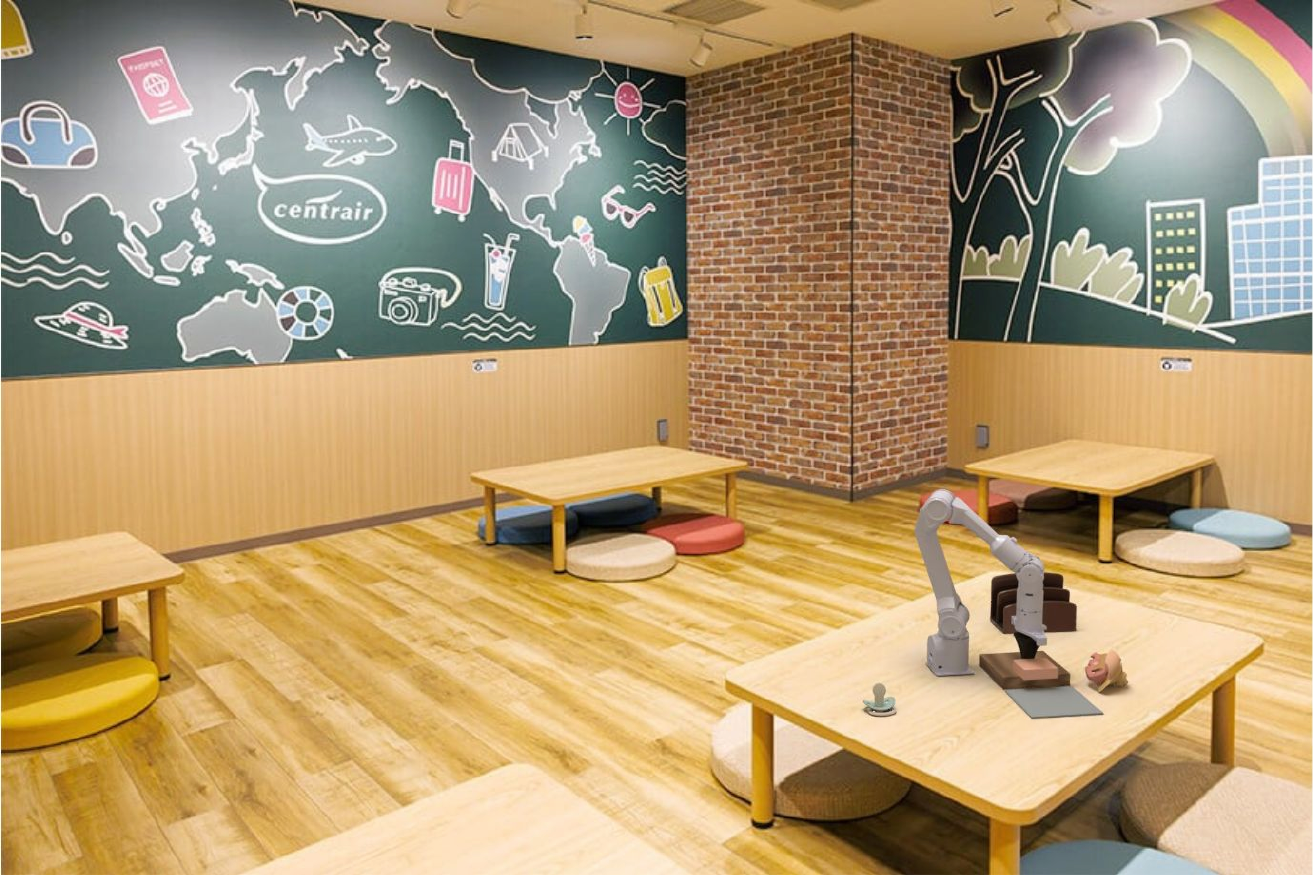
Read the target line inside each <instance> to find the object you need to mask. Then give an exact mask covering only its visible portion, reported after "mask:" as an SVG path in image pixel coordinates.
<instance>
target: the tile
mask: <svg viewBox="0 0 1313 875" xmlns="http://www.w3.org/2000/svg"><path fill="white" fill-rule="evenodd" d="M1013 671H1014V672H1015V673H1016V674H1018V675H1019V676H1020V677H1021V678H1022V679H1023V680H1040V679H1057V678H1058V668H1057V667H1056V666H1055V665H1054V664H1053V663H1051V662H1050V661H1049V660H1048V659H1047V658H1037V659H1020V660H1013Z"/></svg>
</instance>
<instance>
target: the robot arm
mask: <svg viewBox="0 0 1313 875" xmlns="http://www.w3.org/2000/svg"><path fill="white" fill-rule="evenodd" d="M948 519H950V520H949V522H948V523H949V525H963V526H964V527H965V528H966V529H968V530H969V531H970V532H972V533H973V534H974V535H975V536H976V537H978V538H980V539H981V540H982V541H983V542H984V543H986V544H987V545H989V549H990V551H989V552H990V554H991V555H992V556H993V557H994V558H996V560H998V561H999V562H1000V563H1002V564H1003V565H1004V566H1005V567H1006V568H1008V569H1009V570H1010V571H1011V572H1012V573H1016V576H1017V579H1018V581H1019V585H1018V589H1017V611H1016V616H1012V624H1013V625H1014V626H1015V629H1016V630H1017V631H1018V632H1015V633H1014V634H1013V637H1014V638H1015V640H1016V642H1017V646H1018V648H1019V652H1020V655H1021V659H1035V656H1036V653H1037V651H1039V649H1040V646H1042V647H1045V646H1047V645H1048V637H1047V636H1046V634H1045V632H1044V630H1046V629H1047V627H1046V626H1045V625H1044V624H1042V612H1043V583H1042V582H1043V579H1044V572H1045V568H1046V567H1045V564H1044V563H1043V561H1042V560H1041V559H1040V557H1039V556H1037V555H1034V553H1032V552H1028V551H1027V550H1026V549H1024V548H1023V547H1022V546H1021V545H1019V543H1018V539H1016V537H1014V536H1012V537H1010V536H1009V535H1008V534H998V532H997V531H995V530H994V529H993V527H991V526H990V525H989V524H988V523H987V522H986V521H985V520H983V518H981V517H980V516H979V515H978V514H977V513H976V512H975V511H974V510H972V508H970V507H969V506H968V505H967V504H966V502H964V501H963V500H962V499H961V498H960V497H958V496H956V497H955V495H954V494H953V492H951V491H950V490H948V489H944V488H940V489H936V490H935V491H933V492H932V493H931V494H930V496H929V497H928V498H927V499H926V501H924V504H923V505H922V506H921V507H920V509H919V514H918V517H917V520H916V523H915V526H914V531H913V532H914V536H915V538H916V541H917V545H918V547H919V552H920V554H921V556H922V560H923V562H924V565H925V569H926V572H927V575H928V578H929V581H930V585H931V589H932V590H933V594H934V597H935V599H936V612H937V616H938V622H937V628H938V631H937V633H935V634H930V635H929V636H928V637H927V641H926V661H925V664H926V666H927V667H928V668H929V669H930V670H931V671H932V673H933V674H934V675H935V676H936V677H943V676H946V677H947V676H962V675H964V676H965V675H974V674H975V671H974V670H973V669H972V668H971V667H970V666H969V655H970V654H969V652H970V650H969V649H970V647H969V646H970V633H969V631H968V629H967V624H968V622H969V621H970V618H971V617H970V616H971V615H970V611H969V609H968V608H967V606H966V605H965V604H964V603H963V602H962V601H963V600H961V596H960V595H959V594H958V592H957V590H956V588H955V585H954V582H953V579H952V575H951V572H950V569H949V566H948V563H947V560H946V557H945V554H944V551H943V548H942V545H941V542H940V539H939V535H938V533H937V532H938V529H939V528H940V526H941V525H942V524H944V523H945V522H946V521H948Z"/></svg>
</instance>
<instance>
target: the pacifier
mask: <svg viewBox="0 0 1313 875" xmlns="http://www.w3.org/2000/svg"><path fill="white" fill-rule="evenodd" d="M886 691H887V689H886V686H885V684H884V683H882V682H876V683H874V684H873V686H872V694H873V696H874V701H872V700H871V701H870V700H867V699H863V700H862V703H863V704H864V705H866V706H867V707H869V709H868V711H867V712H868V714H869V715H871V716H875V717H888V716H892V715H895V713H897V709H896V708H895V704H896V698H895V697H893V696H890V697H885V695H886V693H887V692H886ZM888 709H889V710H888ZM891 710H892V711H891ZM873 711H875V712H873ZM884 711H885V712H884Z"/></svg>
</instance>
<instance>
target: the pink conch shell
mask: <svg viewBox="0 0 1313 875" xmlns="http://www.w3.org/2000/svg"><path fill="white" fill-rule="evenodd" d="M1090 658H1091V659H1089V660H1088V664H1087V666H1085V668H1084V672H1085V676H1086V678H1087V680H1088V681H1090V682H1094V683H1095V684H1097V685H1099V686H1098V688H1097V693H1100V692H1101V691H1102V690H1103V689H1105V688H1106V687H1108V686H1112V685H1113V686H1114V687H1118V688H1120V687H1121V686H1127V685H1128V684H1129V680H1128V678H1127V677H1128V673H1126V671H1123V662H1121V661H1122V659H1121V658H1120V655H1119V654H1118V653H1117V651H1115V650H1114V649H1110V650H1109V651H1108V653H1098V652H1094V653H1092V654H1091V656H1090Z"/></svg>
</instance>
